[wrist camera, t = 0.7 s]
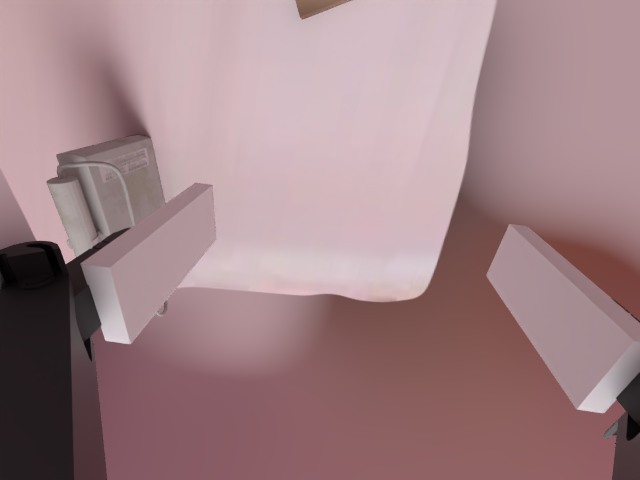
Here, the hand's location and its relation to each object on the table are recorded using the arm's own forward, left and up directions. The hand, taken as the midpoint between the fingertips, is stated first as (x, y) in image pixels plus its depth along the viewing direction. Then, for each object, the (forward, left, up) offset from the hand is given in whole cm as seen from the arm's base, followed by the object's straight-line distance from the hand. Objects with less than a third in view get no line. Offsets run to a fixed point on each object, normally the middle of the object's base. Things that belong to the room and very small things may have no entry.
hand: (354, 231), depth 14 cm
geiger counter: (+4, -29, -26) cm, 39 cm away
